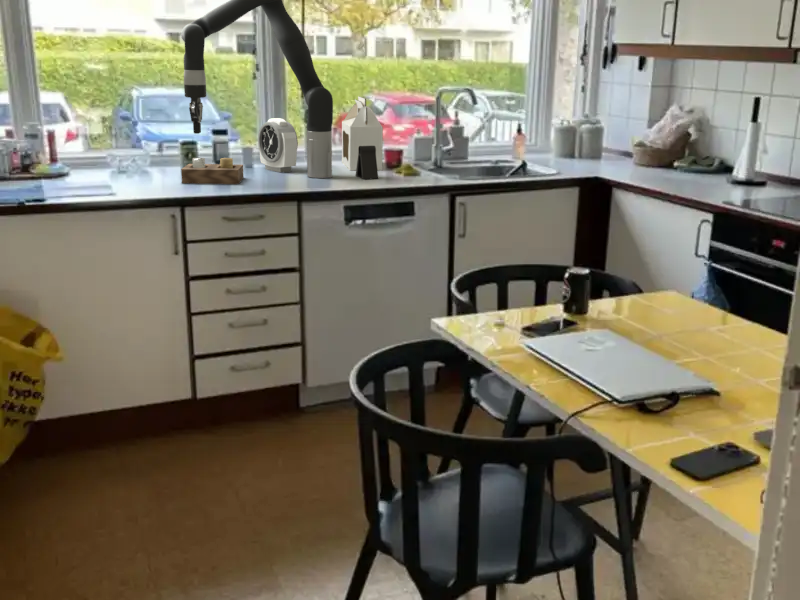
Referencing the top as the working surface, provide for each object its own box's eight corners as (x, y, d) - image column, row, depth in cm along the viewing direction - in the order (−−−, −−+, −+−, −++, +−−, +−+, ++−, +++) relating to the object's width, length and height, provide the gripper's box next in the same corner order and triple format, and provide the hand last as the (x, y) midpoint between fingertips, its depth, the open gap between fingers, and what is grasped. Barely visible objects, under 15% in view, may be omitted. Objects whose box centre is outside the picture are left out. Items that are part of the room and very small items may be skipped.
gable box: (341, 163, 363) (341, 95, 355) (372, 163, 366) (373, 95, 358) (349, 171, 342) (350, 99, 334) (382, 170, 345) (383, 99, 337)
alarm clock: (256, 168, 344) (255, 117, 338) (274, 166, 349) (273, 116, 343) (282, 173, 331) (281, 120, 325) (300, 172, 336) (299, 119, 330)
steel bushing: (206, 179, 314) (205, 157, 312) (204, 181, 310) (203, 159, 307) (194, 179, 314) (193, 157, 311) (192, 181, 310) (191, 159, 307)
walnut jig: (243, 177, 319) (242, 156, 317) (238, 184, 306) (237, 161, 304) (189, 177, 318) (188, 155, 316) (181, 183, 305) (180, 160, 303)
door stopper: (355, 176, 329) (355, 144, 326) (370, 175, 331) (370, 144, 328) (363, 179, 321) (363, 147, 318) (378, 179, 323) (378, 147, 320)
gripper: (202, 84, 296) (204, 135, 301) (208, 82, 309) (211, 131, 314) (180, 84, 295) (183, 135, 300) (187, 82, 308) (190, 131, 313)
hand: (197, 133), depth 307 cm, fingers closed
